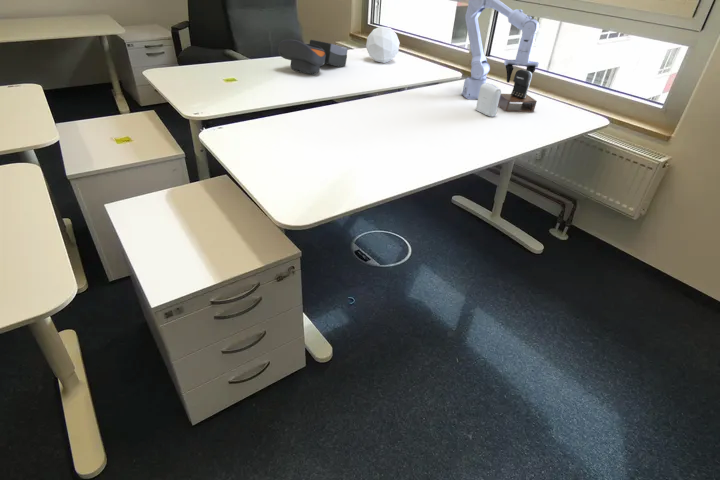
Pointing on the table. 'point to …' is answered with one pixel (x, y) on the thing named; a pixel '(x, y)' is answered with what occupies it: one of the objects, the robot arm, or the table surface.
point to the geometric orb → (382, 44)
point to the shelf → (526, 106)
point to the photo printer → (488, 99)
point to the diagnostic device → (312, 55)
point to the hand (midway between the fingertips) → (516, 82)
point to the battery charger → (521, 83)
